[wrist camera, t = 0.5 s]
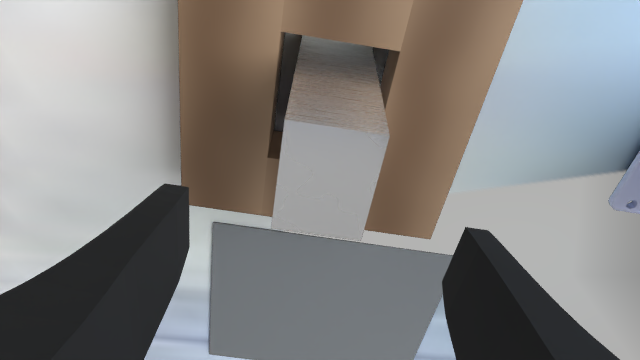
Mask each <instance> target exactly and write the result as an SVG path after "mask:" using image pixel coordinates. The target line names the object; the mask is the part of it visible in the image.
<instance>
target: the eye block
mask: <svg viewBox="0 0 640 360" xmlns="http://www.w3.org/2000/svg"><path fill="white" fill-rule="evenodd" d="M522 2H523V0H178V29H179V82H180V135H181V186H184V187H189V205H192V206H199V207H206V208H213V209H220V210H227V211H234V212H241V213H248V214H256V215H263V216H270V217H273V209H274V201H275V192H276V184H277V176H278V168H279V160H280V152H281V144H282V136H283V132H280V131H274V126H275V117H276V108H277V100H278V91H279V82H280V73H281V64H282V55H283V46H284V37H285V32H286V33H292V34H298V35H304V36H310V37H316V38H322V39H328V40H334V41H340V42H346V43H352V44H359V45H365V46H371V47H377V48H383V49H389V53H388V57H387V61H386V65H385V69H384V73H383V77H382V81H381V85H380V89H381V94H382V99H383V104H384V109H385V114H386V119H387V124H388V129H389V134H390V137H389V141H388V144H387V148H386V152H385V155H384V159H383V163H382V166H381V170H380V173H379V177H378V181H377V184H376V188H375V192H374V195H373V199H372V203H371V206H370V210H369V213H368V217H367V221H366V224H365V228H364V230H368V231H376V232H383V233H389V234H396V235H403V236H411V237H418V238H425V239H431V236H432V233H433V231H434V228H435V226H436V223H437V220H438V218H439V216H440V213H441V210H442V208H443V205H444V203H445V200H446V198H447V195H448V192H449V190H450V187H451V185H452V182H453V180H454V177H455V174H456V172H457V169H458V167H459V164H460V162H461V159H462V156H463V154H464V151H465V149H466V146H467V144H468V141H469V138H470V136H471V133H472V131H473V128H474V126H475V123H476V120H477V118H478V115H479V113H480V110H481V108H482V105H483V102H484V100H485V97H486V95H487V92H488V89H489V87H490V84H491V82H492V79H493V77H494V74H495V71H496V69H497V66H498V64H499V61H500V59H501V56H502V53H503V51H504V48H505V46H506V43H507V41H508V38H509V35H510V33H511V30H512V28H513V25H514V23H515V20H516V17H517V15H518V12H519V10H520V7H521V5H522Z"/></svg>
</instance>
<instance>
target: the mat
mask: <svg viewBox="0 0 640 360" xmlns="http://www.w3.org/2000/svg"><path fill="white" fill-rule="evenodd" d="M452 257H453V255H445V254H438V253H431V252H424V251H417V250H409V249H403V248H395V247H388V246H381V245H374V244H366V243H360V242H352V241H346V240H338V239H331V238H324V237H316V236H310V235H303V234H296V233H289V232H281V231H274V230H267V229H260V228H253V227H246V226H239V225H231V224H224V223H217V222H213V245H212V278H211V310H210V343H209V354H211V355H219V356H227V357H235V358H243V359H252V360H413V359H414V357H415V355H416V353H417V350H418V348H419V346H420V344H421V342H422V339H423V337H424V335H425V333H426V330H427V328H428V326H429V324H430V321H431V319H432V317H433V315H434V313H435V310H436V308H437V306H438V304H439V301H440V299H441V297H442V295H443V289H442V280H443V278H444V275H445V273H446V271H447V269H448V266H449V264H450V262H451V259H452Z"/></svg>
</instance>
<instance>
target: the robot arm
mask: <svg viewBox="0 0 640 360" xmlns="http://www.w3.org/2000/svg"><path fill="white" fill-rule="evenodd" d="M632 200H633V201H632ZM608 201H609V204H610V206H611V207H612V208H613V209H615V210H618V211H625V212H632V213H638V214H640V151H639V152H638V154H637V156H636V157H635V159H634V160H633V162H632V163H631V165H630V166H629V168H628V170H627V171H626V173H625V174H624V176H623V177H622V179H621V181H620V182H619V184H618V186H617V187H616V188H615V190H614V192H613V193H612V195H611V196H610V198H609V200H608ZM629 201H632V202H631V203H629V204H627V203H628V202H629ZM188 250H189V187H184V186H177V185H170V184H164V185H162V186H161V187H159V188H158V189H157V190H156V191H154V192H153V193H152V194H151V195H150V196H148V197H147V198H146V199H145V200H144V201H142V202H141V203H140V204H139V205H137V206H136V207H135V208H134V209H133V210H131V211H130V212H129V213H128V214H126V215H125V216H124V217H122V218H121V219H120V220H119V221H117V222H116V223H115V224H113V225H112V226H111V227H109V228H108V229H107V230H106V231H104V232H103V233H102V234H100V235H99V236H97V237H96V238H95V239H93V240H92V241H90V242H89V243H87V244H86V245H84V246H83V247H82V248H80V249H79V250H77V251H76V252H74V253H73V254H71V255H70V256H68V257H67V258H65V259H64V260H62V261H61V262H59V263H57V264H56V265H54V266H53V267H51V268H49V269H48V270H46V271H44V272H42V273H41V274H39V275H37V276H35V277H34V278H32V279H30V280H28V281H26V282H25V283H23V284H21V285H19V286H17V287H15V288H13V289H11V290H9V291H7V292H5V293H3V294H1V295H0V360H144V358H145V356H146V354H147V351H148V349H149V347H150V345H151V343H152V340H153V338H154V336H155V334H156V332H157V329H158V327H159V325H160V323H161V320H162V318H163V316H164V314H165V312H166V309H167V307H168V305H169V303H170V300H171V298H172V296H173V294H174V291H175V289H176V287H177V285H178V282H179V279H180V276H181V273H182V270H183V267H184V263H185V260H186V257H187V253H188ZM442 289H443V299H444V307H445V315H446V320H447V324H448V329H449V333H450V337H451V341H452V345H453V348H454V352H455V356H456V360H620V359H619V358H617V357H616V356H615V355H614V354H613V353H611V352H610V351H609V350H608V349H607V348H606V347H604V346H603V345H602V344H601V343H599V342H598V341H597V340H596V339H595V338H593V336H591V335H590V334H589V333H588V332H587V331H586V330H585V329H584V328H583V327H581V326H580V325H579V324H578V323H577V322H576V321H575V320H574V319H573V318H572V317H571V316H570V315H569V314H568V313H567V312H566V311H564V309H562V307H560V306H559V304H558V303H556V302H555V300H554V299H552V298H551V297H550V295H549V294H548V293H547V292H546V291H545V290H544V289H543V288H542V287H541V286H540V285H539V284H538V283H537V282H536V281H535V280H534V279H533V278H532V277H531V276H530V274H529V273H528V272H527V271H526V270H525V269H524V268H523V267H522V266H521V265H520V264H519V263H518V261H517V260H516V259H515V258H514V257H513V256H512V255H511V254H510V253H509V252H508V251H507V250H506V249H505V247H504V246H503V245H502V244H501V243H500V242H499V241H498V240H497V239H496V238H495V237H494V236H493V235H492V234H491V233H490V232H489V231H487V230H481V229H474V228H468V227H467V228H466V227H465V230H464V232H463V234H462V237H461V239H460V241H459V243H458V246H457V248H456V250H455V253H454V255H453V257H452V259H451V262H450V264H449V266H448V269H447V271H446V273H445V275H444V278H443V280H442Z"/></svg>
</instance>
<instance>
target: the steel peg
mask: <svg viewBox="0 0 640 360" xmlns="http://www.w3.org/2000/svg"><path fill="white" fill-rule="evenodd" d="M389 137H390V134H389V129H388V124H387V119H386V114H385V109H384V104H383V99H382V94H381V89H380V84H379V79H378V74H377V69H376V64H375V59H374V54H373V49H372V47H371V46H365V45H359V44H352V43H346V42H340V41H334V40H328V39H322V38H316V37H310V36H304V35H303V36H302V40H301V45H300V50H299V54H298V59H297V64H296V68H295V73H294V78H293V82H292V87H291V92H290V97H289V101H288V106H287V111H286V115H285V120H284V128H283V136H282V144H281V152H280V160H279V168H278V176H277V184H276V192H275V201H274V209H273V217H272V225H271V228H272V229H279V230H287V231H294V232H301V233H308V234H315V235H323V236H330V237H337V238H345V239H352V240H358V241H361V239H362V235H363V232H364V228H365V224H366V221H367V217H368V213H369V210H370V206H371V203H372V199H373V195H374V192H375V188H376V184H377V181H378V177H379V173H380V170H381V166H382V163H383V159H384V155H385V152H386V148H387V144H388V141H389Z"/></svg>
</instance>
